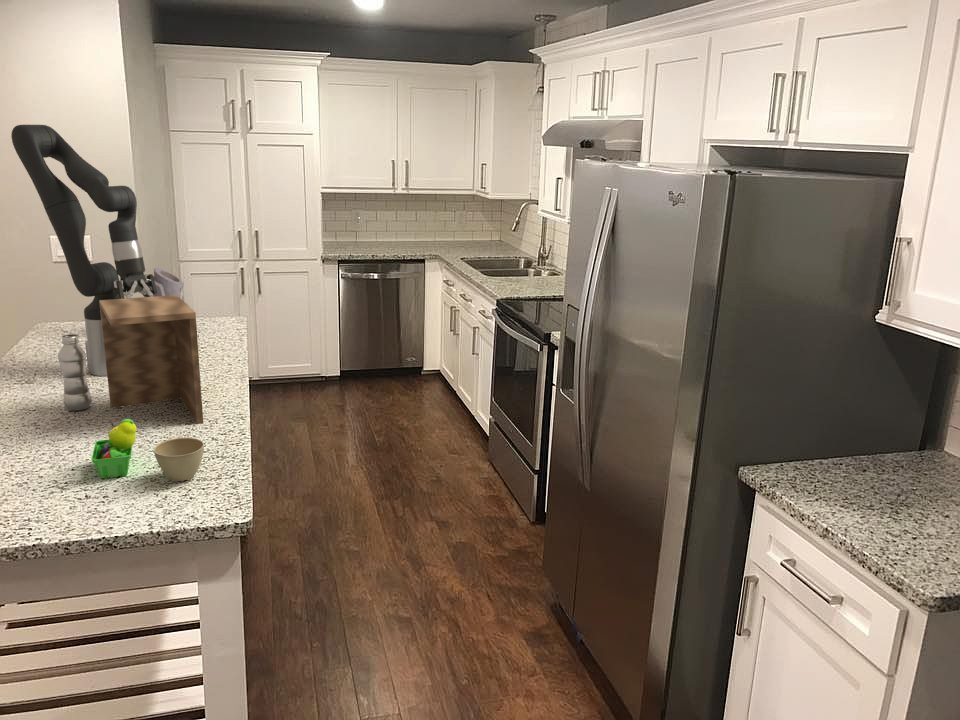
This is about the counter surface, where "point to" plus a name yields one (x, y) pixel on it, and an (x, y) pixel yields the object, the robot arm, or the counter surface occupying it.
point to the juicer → (167, 284)
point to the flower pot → (179, 457)
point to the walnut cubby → (151, 352)
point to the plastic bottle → (74, 374)
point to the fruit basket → (115, 450)
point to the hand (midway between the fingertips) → (139, 313)
